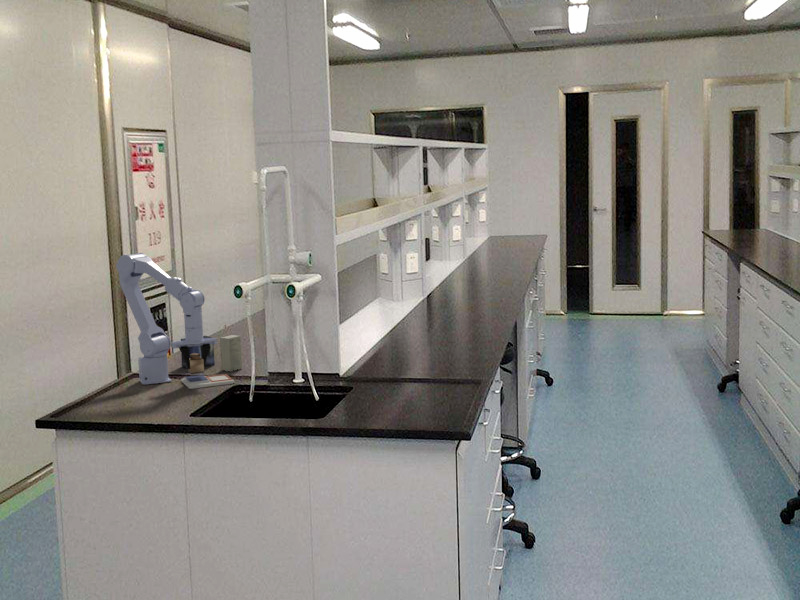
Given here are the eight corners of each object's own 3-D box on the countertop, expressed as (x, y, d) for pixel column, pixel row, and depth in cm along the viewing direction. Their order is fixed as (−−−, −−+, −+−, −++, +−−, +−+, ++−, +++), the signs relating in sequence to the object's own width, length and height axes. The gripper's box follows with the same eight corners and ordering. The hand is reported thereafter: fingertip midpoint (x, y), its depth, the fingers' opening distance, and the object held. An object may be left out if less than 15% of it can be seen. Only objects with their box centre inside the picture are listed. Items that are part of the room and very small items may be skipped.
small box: (189, 369, 309) (187, 341, 307) (181, 366, 314) (179, 338, 312) (215, 365, 315) (214, 337, 314) (207, 362, 320) (206, 335, 319)
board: (189, 388, 279) (189, 382, 278) (181, 381, 289) (181, 375, 289) (234, 383, 285) (234, 377, 285) (225, 376, 296) (225, 370, 296)
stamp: (190, 374, 282) (189, 355, 282) (188, 372, 286) (187, 353, 286) (204, 372, 284) (203, 354, 283) (201, 370, 288) (200, 352, 287)
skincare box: (234, 367, 311) (233, 334, 309) (242, 368, 308) (241, 335, 306) (220, 370, 306) (219, 337, 304) (228, 372, 303) (227, 338, 302)
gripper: (174, 331, 276) (176, 372, 278) (218, 326, 283) (220, 367, 284) (169, 327, 283) (172, 368, 284) (213, 324, 289) (215, 363, 291)
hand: (195, 367), depth 285 cm, fingers closed on stamp, 4 cm apart
